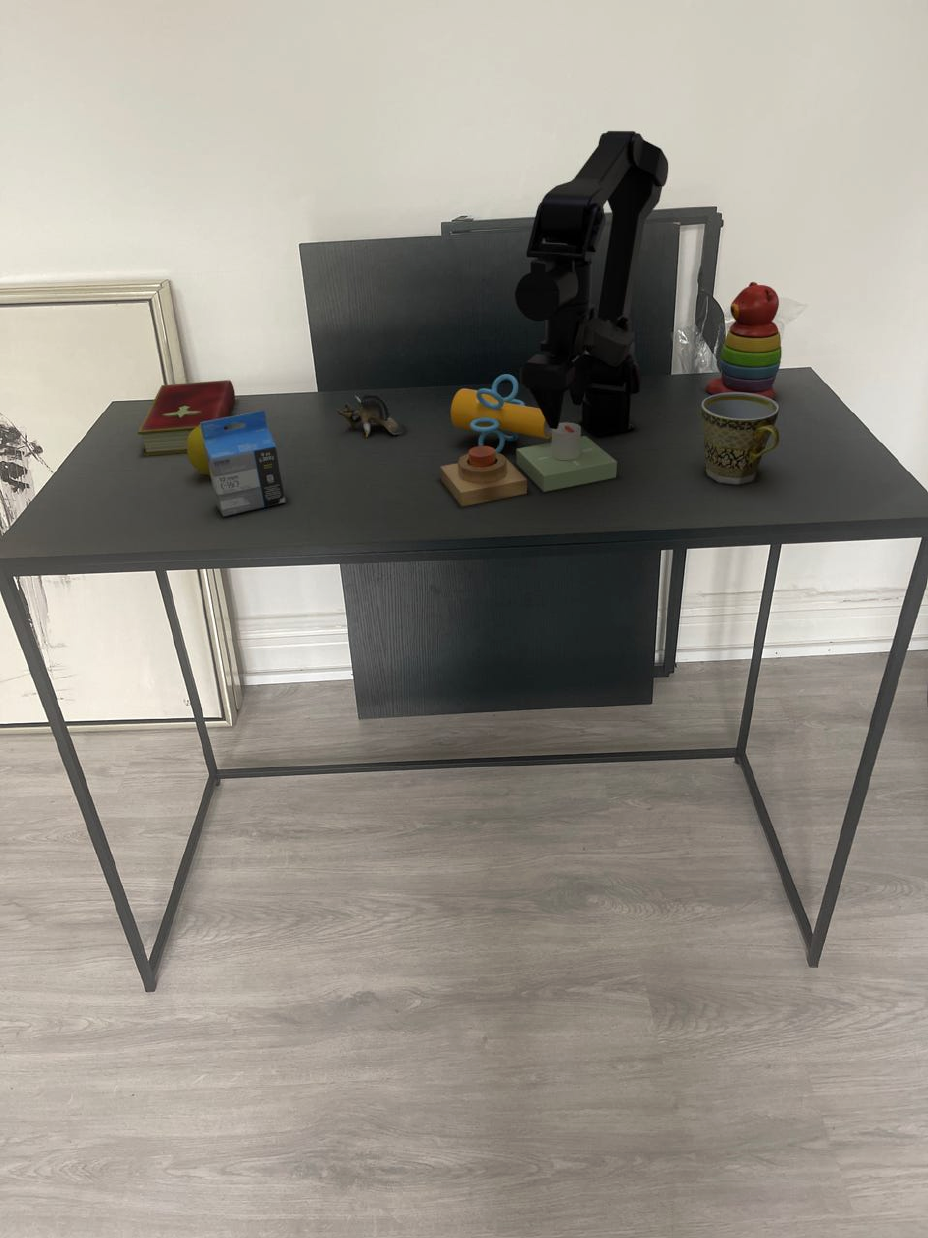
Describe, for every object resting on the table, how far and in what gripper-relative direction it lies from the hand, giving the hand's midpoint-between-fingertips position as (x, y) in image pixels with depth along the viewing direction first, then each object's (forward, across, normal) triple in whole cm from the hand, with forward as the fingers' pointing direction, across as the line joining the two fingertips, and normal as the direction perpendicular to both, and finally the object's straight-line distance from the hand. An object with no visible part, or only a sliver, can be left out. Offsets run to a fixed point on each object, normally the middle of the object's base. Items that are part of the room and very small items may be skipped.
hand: (565, 416), depth 125 cm
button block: (+8, -9, +9) cm, 15 cm away
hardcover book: (+8, -5, +63) cm, 64 cm away
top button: (+5, -9, +9) cm, 13 cm away
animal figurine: (+8, +3, +34) cm, 35 cm away
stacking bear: (+8, +37, -17) cm, 42 cm away
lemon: (+8, -19, +48) cm, 52 cm away
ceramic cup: (+8, +6, -23) cm, 25 cm away
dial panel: (+8, 0, 0) cm, 8 cm away
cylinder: (+3, +5, +19) cm, 20 cm away
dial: (+6, 0, 0) cm, 6 cm away
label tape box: (+8, -25, +36) cm, 45 cm away
